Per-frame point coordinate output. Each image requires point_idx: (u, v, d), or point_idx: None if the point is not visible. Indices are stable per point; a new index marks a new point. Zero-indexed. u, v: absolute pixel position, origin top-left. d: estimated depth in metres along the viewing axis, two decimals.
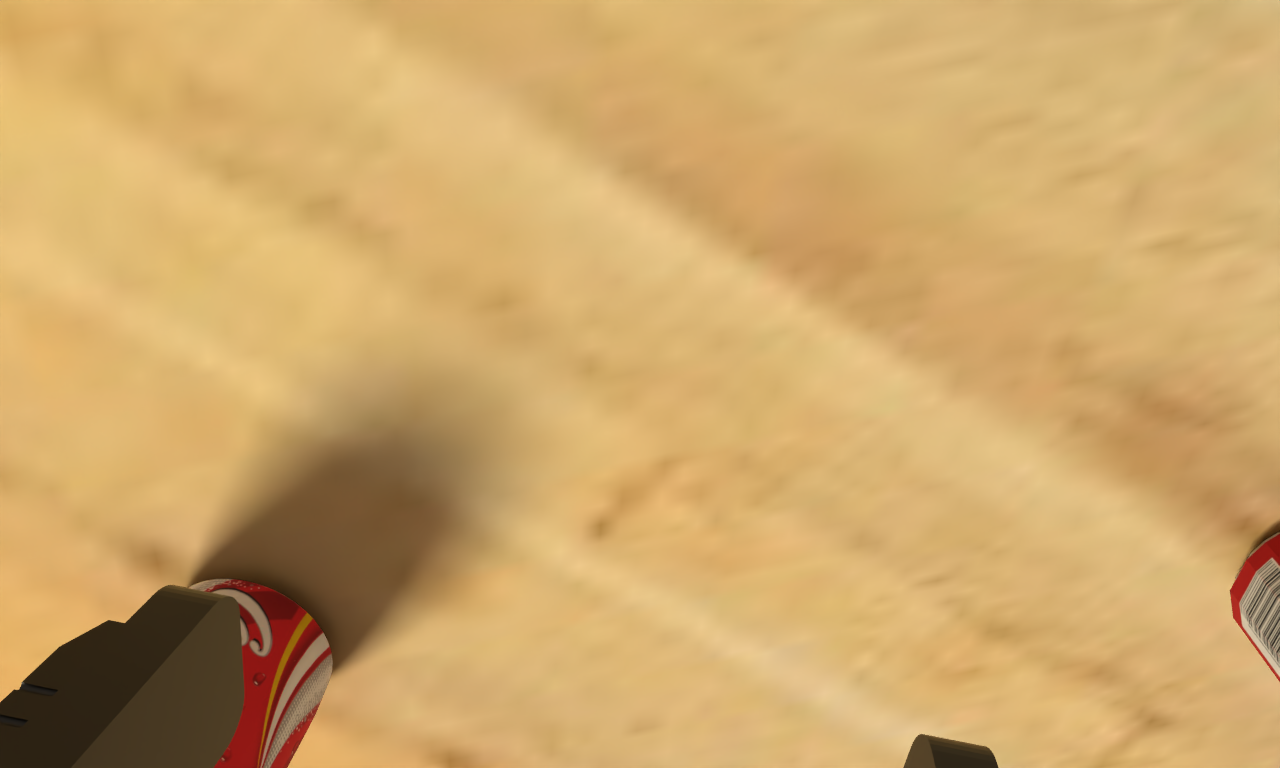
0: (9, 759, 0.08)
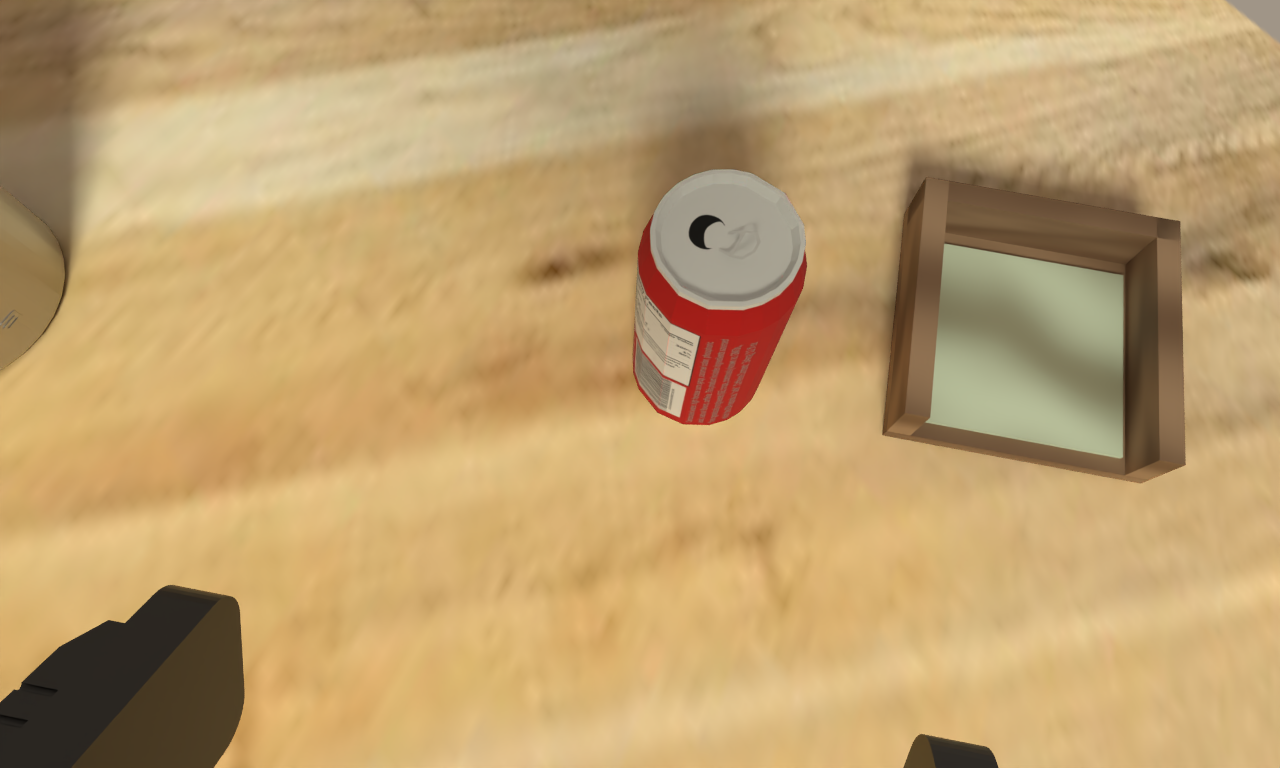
0: (9, 759, 0.08)
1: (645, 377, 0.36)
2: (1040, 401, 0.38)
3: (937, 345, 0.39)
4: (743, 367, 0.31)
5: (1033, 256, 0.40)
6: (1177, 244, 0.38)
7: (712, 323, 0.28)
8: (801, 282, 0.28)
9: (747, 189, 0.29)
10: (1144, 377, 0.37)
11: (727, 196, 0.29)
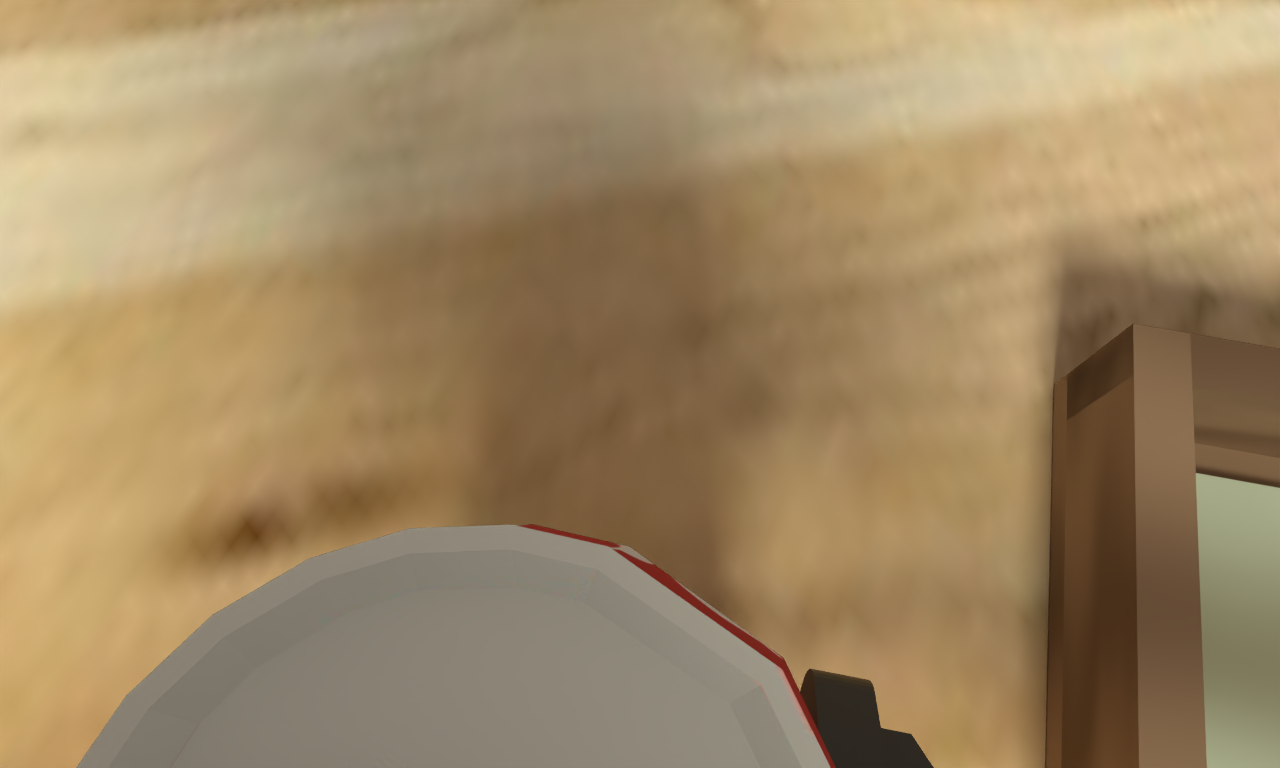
0: None
1: None
2: None
3: None
4: None
5: None
6: None
7: None
8: None
9: (588, 625, 0.06)
10: None
11: (484, 660, 0.06)
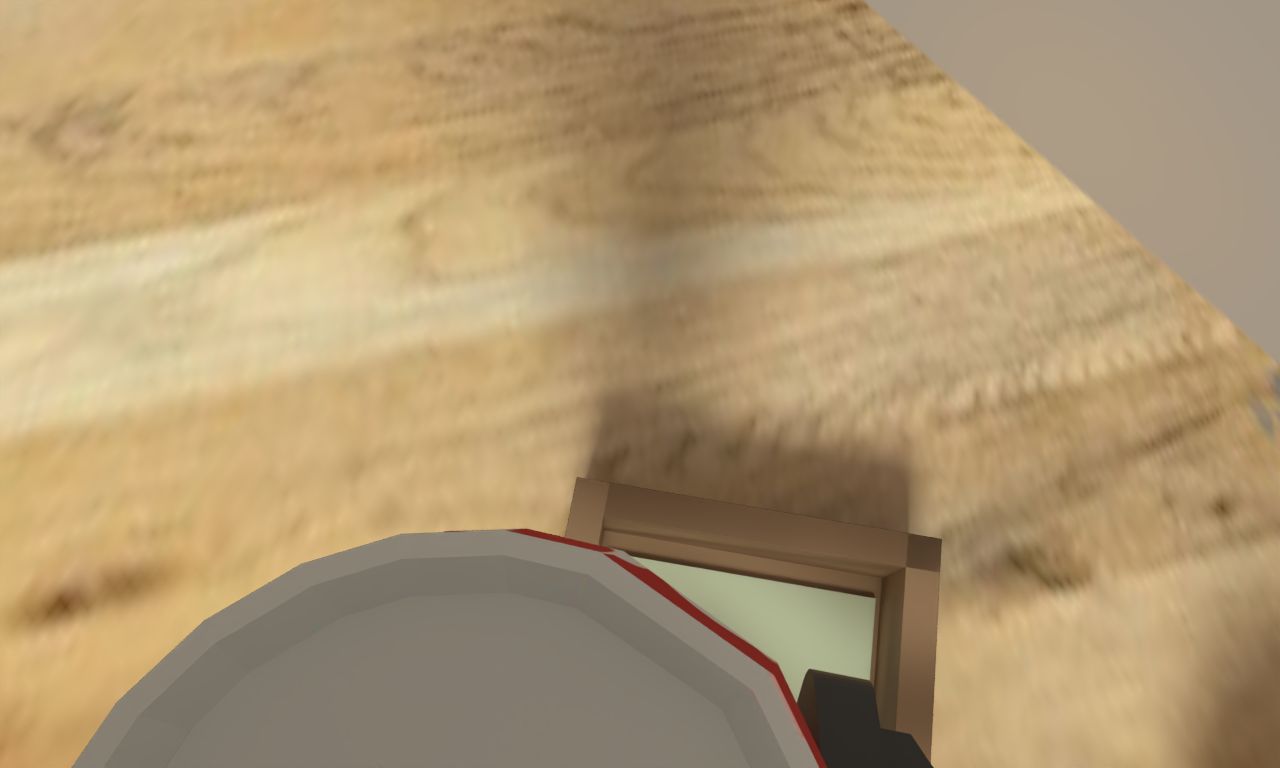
0: None
1: None
2: None
3: None
4: None
5: (750, 569, 0.28)
6: (935, 577, 0.26)
7: None
8: None
9: (580, 630, 0.06)
10: None
11: (476, 666, 0.06)
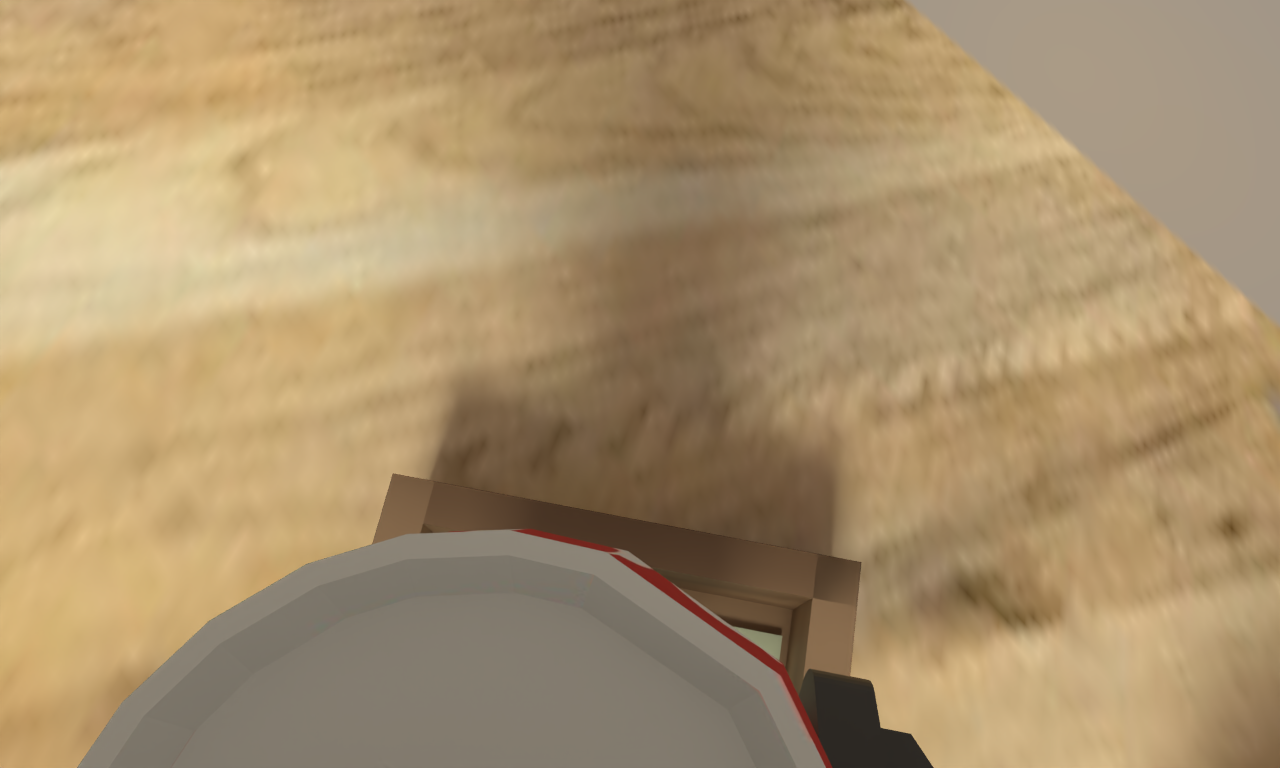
0: None
1: None
2: None
3: None
4: None
5: None
6: (850, 612, 0.20)
7: None
8: None
9: (586, 631, 0.06)
10: None
11: (483, 666, 0.06)
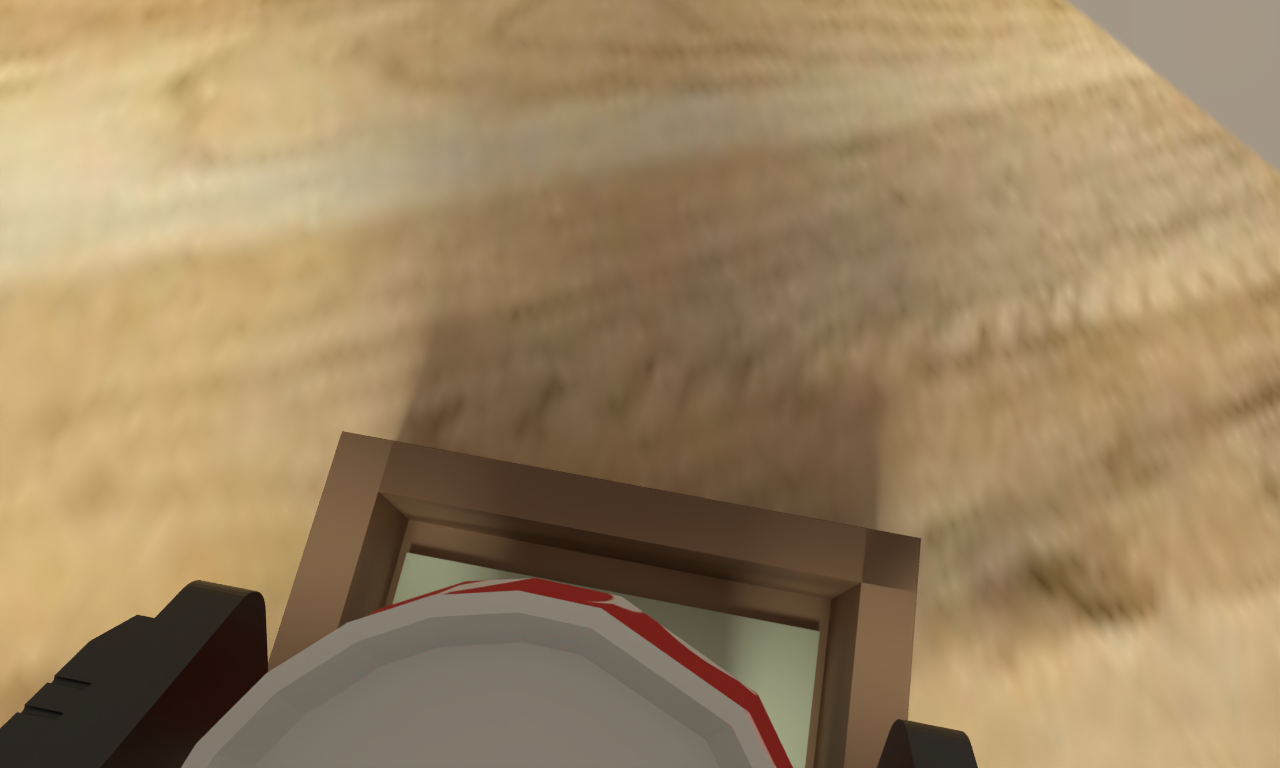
0: (48, 750, 0.08)
1: None
2: None
3: None
4: None
5: (628, 582, 0.18)
6: (908, 600, 0.16)
7: None
8: None
9: (585, 675, 0.07)
10: None
11: (497, 706, 0.07)
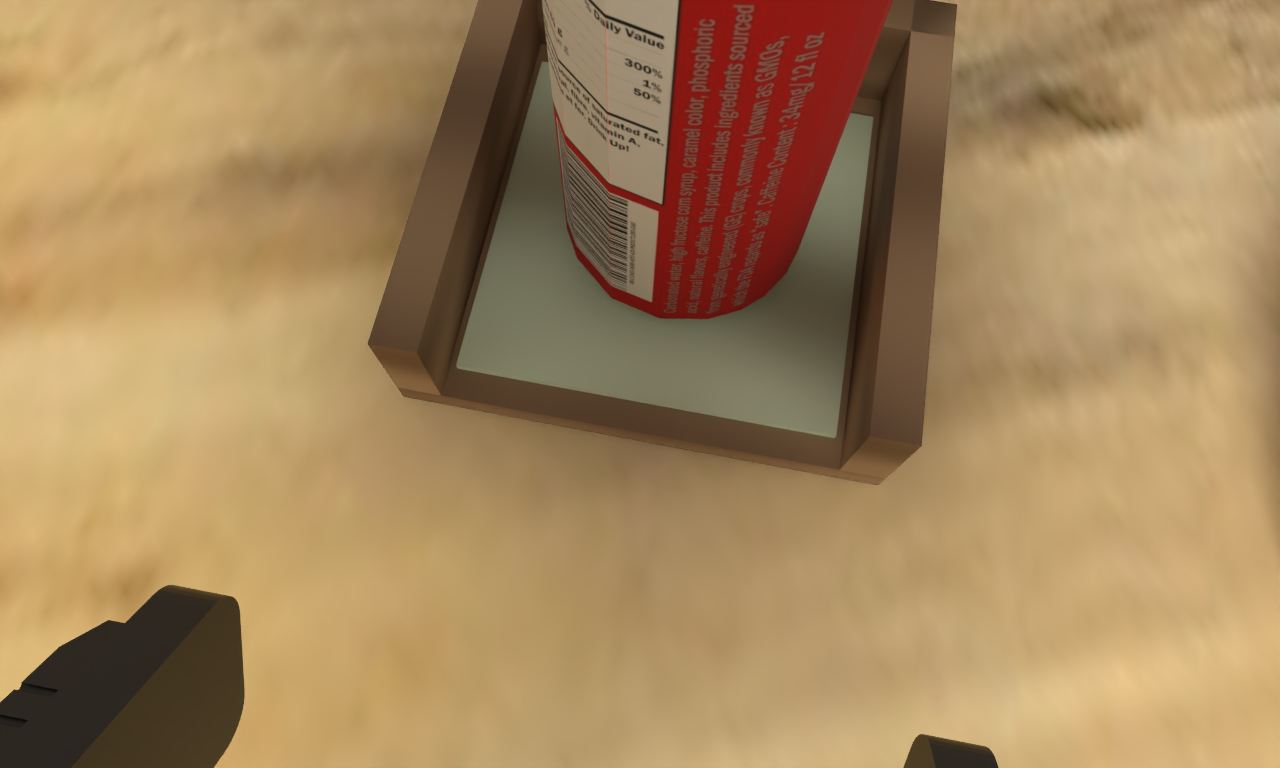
0: (9, 759, 0.08)
1: (581, 216, 0.18)
2: (692, 333, 0.20)
3: (517, 234, 0.21)
4: (783, 136, 0.14)
5: None
6: (948, 42, 0.20)
7: None
8: None
9: None
10: (874, 283, 0.19)
11: None
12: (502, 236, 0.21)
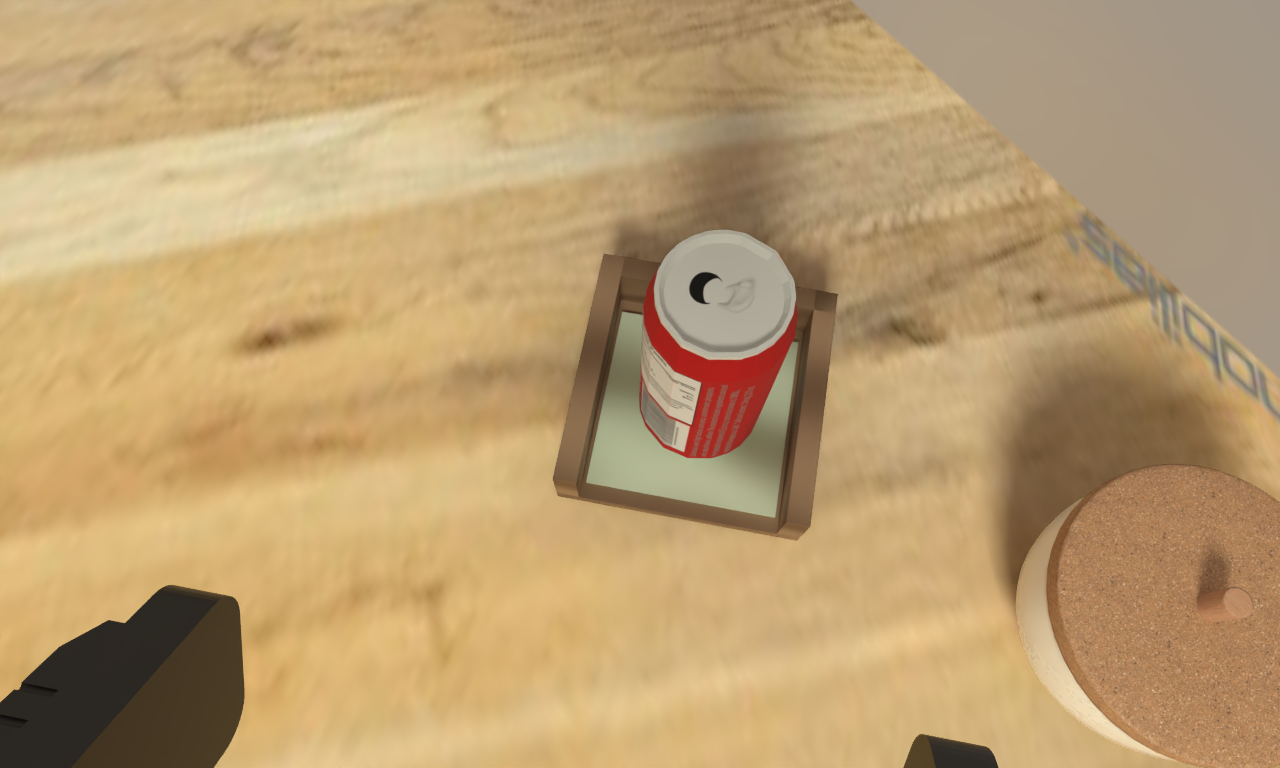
0: (9, 759, 0.08)
1: (651, 416, 0.38)
2: (703, 464, 0.40)
3: (613, 411, 0.41)
4: (742, 407, 0.34)
5: None
6: (832, 316, 0.41)
7: (712, 371, 0.30)
8: (793, 331, 0.31)
9: (742, 247, 0.31)
10: (793, 441, 0.39)
11: (723, 254, 0.31)
12: (606, 412, 0.41)
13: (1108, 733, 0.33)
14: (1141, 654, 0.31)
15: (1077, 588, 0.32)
